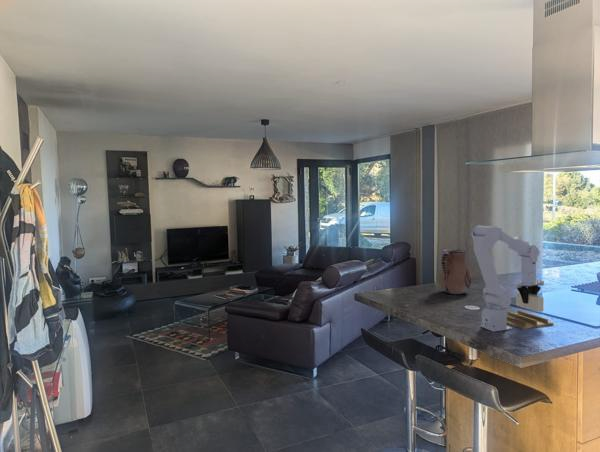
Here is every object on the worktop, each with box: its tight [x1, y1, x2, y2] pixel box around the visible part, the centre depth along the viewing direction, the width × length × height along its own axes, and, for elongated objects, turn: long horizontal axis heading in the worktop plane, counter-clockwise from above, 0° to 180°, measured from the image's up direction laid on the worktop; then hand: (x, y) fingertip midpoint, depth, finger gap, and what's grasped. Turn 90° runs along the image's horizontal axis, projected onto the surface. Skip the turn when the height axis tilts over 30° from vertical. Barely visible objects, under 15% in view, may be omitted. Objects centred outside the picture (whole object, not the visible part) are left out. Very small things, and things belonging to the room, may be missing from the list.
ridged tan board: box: [507, 309, 554, 330], centre depth 186 cm, size 16×18×2 cm
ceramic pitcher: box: [438, 248, 472, 295], centre depth 244 cm, size 18×21×25 cm
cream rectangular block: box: [515, 291, 544, 313], centre depth 183 cm, size 3×12×6 cm, turn 15°
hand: (528, 302), depth 184 cm, fingers closed on cream rectangular block, 3 cm apart
